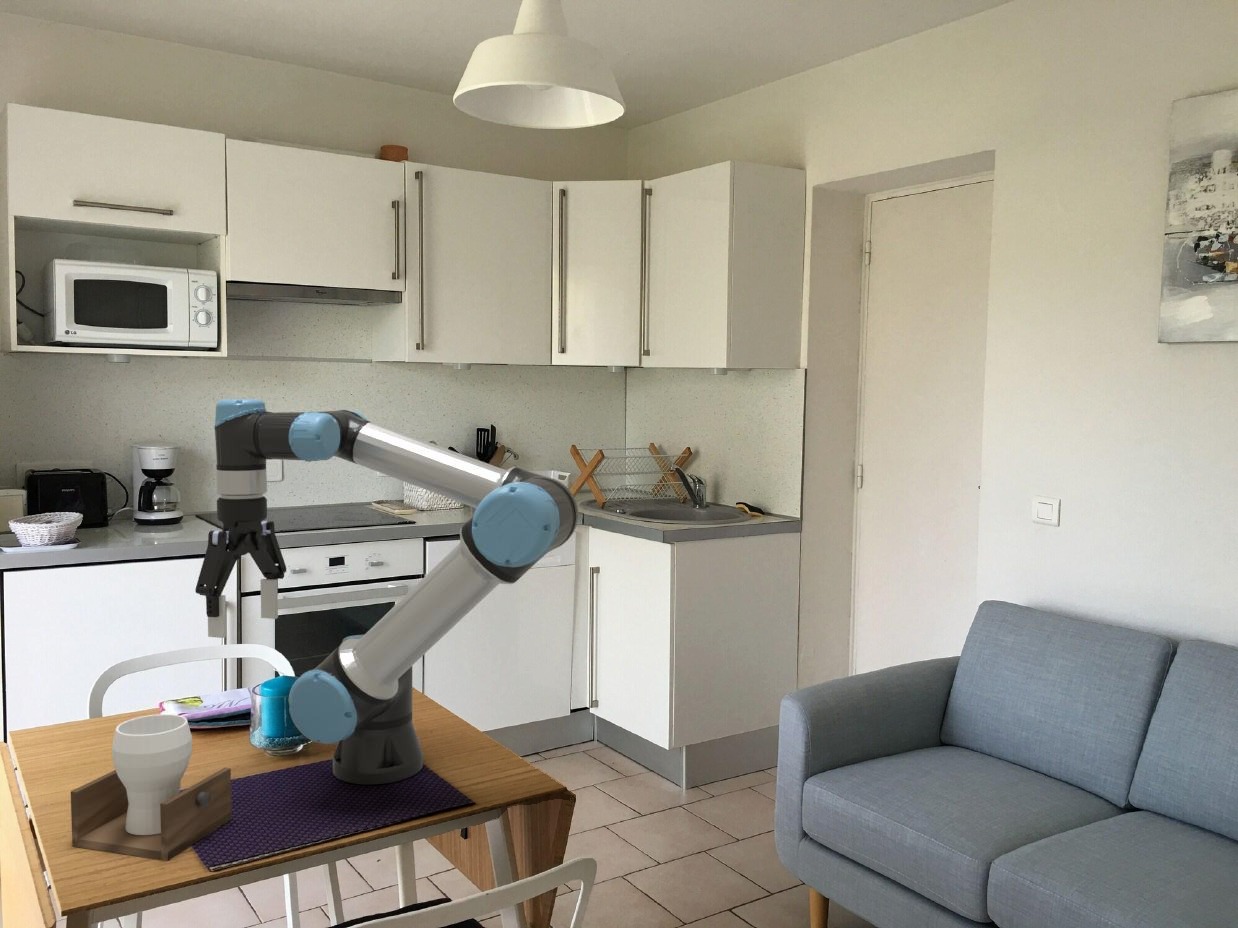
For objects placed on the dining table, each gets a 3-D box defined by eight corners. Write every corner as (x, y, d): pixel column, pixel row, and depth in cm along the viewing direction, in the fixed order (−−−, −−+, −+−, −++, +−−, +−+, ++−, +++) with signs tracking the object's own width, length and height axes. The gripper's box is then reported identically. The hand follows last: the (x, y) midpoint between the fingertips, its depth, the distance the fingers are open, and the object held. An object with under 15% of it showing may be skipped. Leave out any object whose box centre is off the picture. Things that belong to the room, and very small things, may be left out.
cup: (101, 826, 149) (98, 725, 148) (171, 803, 157) (169, 708, 156) (135, 847, 142) (132, 741, 141) (207, 822, 150) (205, 722, 149)
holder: (237, 820, 154) (236, 768, 153) (173, 861, 140) (172, 805, 140) (137, 806, 159) (135, 756, 158) (66, 845, 145) (64, 790, 144)
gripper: (267, 487, 175) (270, 609, 177) (168, 503, 151) (171, 643, 153) (306, 489, 173) (308, 612, 175) (211, 505, 149) (214, 647, 151)
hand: (244, 627), depth 164 cm, fingers open, 13 cm apart
